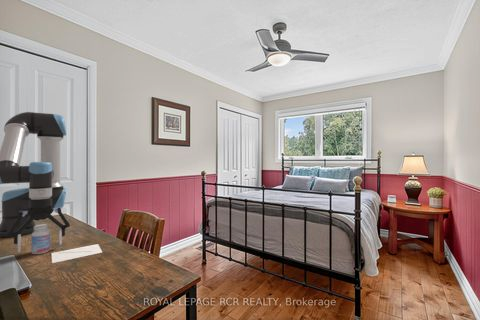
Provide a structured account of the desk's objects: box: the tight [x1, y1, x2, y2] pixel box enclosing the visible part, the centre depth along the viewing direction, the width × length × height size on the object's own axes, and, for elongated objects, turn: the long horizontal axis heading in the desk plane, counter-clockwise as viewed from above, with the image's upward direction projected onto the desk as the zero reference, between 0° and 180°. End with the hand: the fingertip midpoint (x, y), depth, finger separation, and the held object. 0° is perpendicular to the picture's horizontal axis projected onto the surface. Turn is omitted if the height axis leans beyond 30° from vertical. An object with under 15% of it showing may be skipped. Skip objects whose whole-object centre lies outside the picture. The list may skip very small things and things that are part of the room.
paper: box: [51, 243, 103, 264], centre depth 100 cm, size 12×17×1 cm
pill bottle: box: [30, 224, 51, 255], centre depth 101 cm, size 6×6×11 cm
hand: (40, 247), depth 101 cm, fingers open, 13 cm apart
